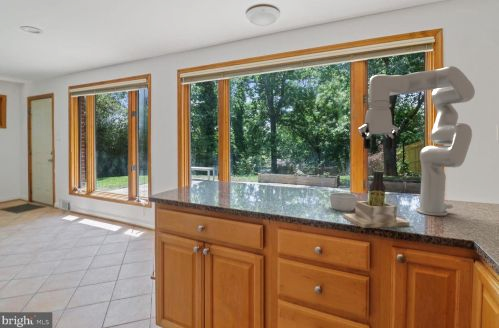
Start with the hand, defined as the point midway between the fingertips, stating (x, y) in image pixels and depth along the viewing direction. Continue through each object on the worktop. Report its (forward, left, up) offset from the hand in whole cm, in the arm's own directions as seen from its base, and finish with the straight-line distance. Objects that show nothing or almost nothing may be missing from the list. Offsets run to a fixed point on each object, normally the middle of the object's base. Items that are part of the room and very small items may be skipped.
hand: (377, 148), depth 118 cm
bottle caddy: (0, 0, -31) cm, 31 cm away
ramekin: (+2, -24, -31) cm, 39 cm away
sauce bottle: (0, 0, -29) cm, 29 cm away
